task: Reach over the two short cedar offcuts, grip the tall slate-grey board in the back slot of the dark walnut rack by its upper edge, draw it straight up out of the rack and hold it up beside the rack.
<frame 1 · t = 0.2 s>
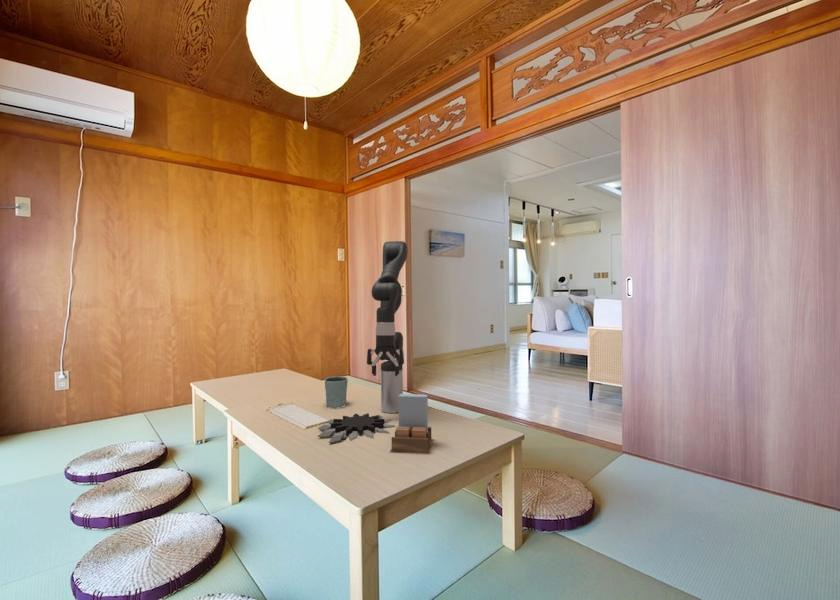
hand: (385, 375, 149), 18 cm above the table, tool pointing down, fingers open, 8 cm apart
teal cup: (336, 406, 171), on the table
rack: (412, 450, 121), on the table
baseboard molding: (295, 419, 155), on the table
tall board: (413, 441, 124), point 1 cm above the table, touching rack
offcut 1: (403, 447, 119), point 1 cm above the table, touching rack
decorative piece: (358, 432, 138), on the table
offcut 2: (419, 448, 118), point 1 cm above the table, touching rack
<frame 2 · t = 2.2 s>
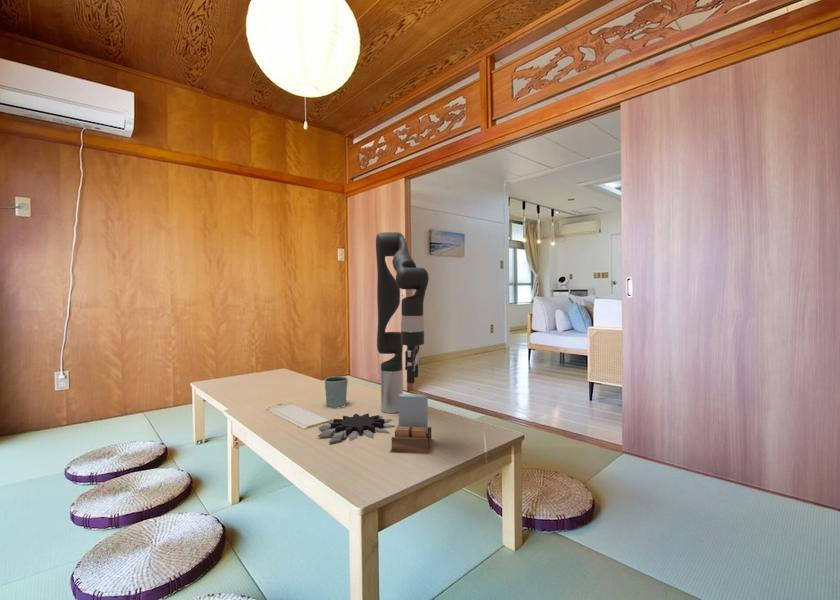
hand: (412, 380, 123), 21 cm above the table, tool pointing down, fingers open, 8 cm apart
nothing on the table moved.
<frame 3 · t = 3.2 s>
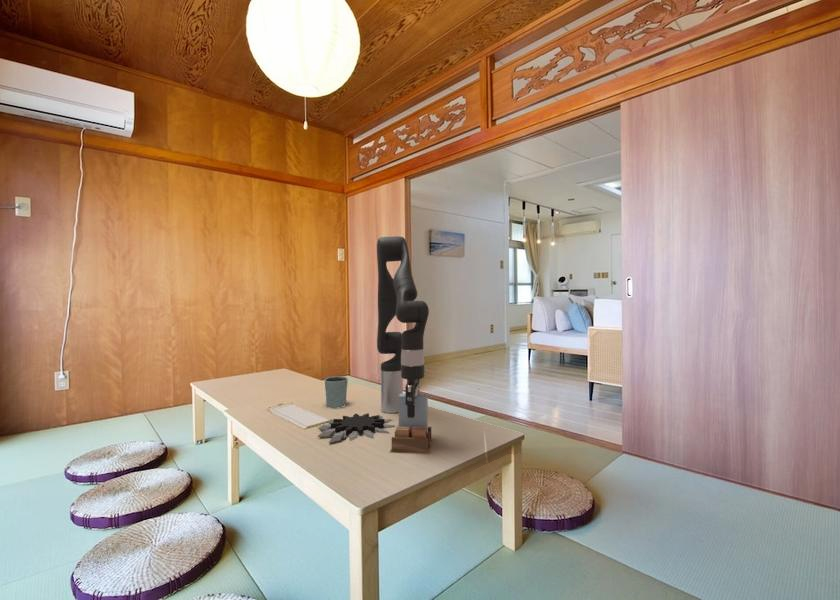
hand: (413, 413, 123), 11 cm above the table, tool pointing down, fingers open, 8 cm apart
nothing on the table moved.
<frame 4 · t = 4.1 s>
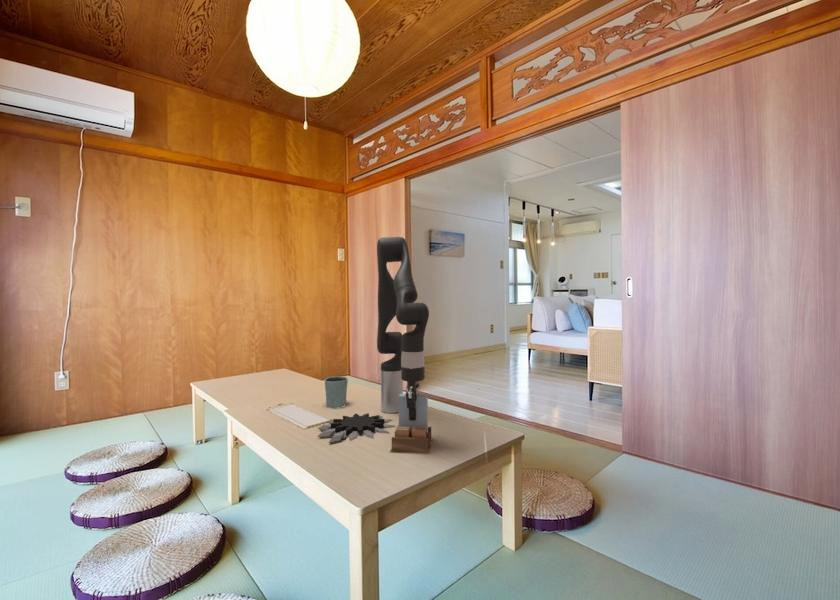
hand: (413, 418, 123), 9 cm above the table, tool pointing down, fingers closed on tall board, 3 cm apart
tall board: (413, 441, 124), point 1 cm above the table, touching gripper, rack
everything else where it was.
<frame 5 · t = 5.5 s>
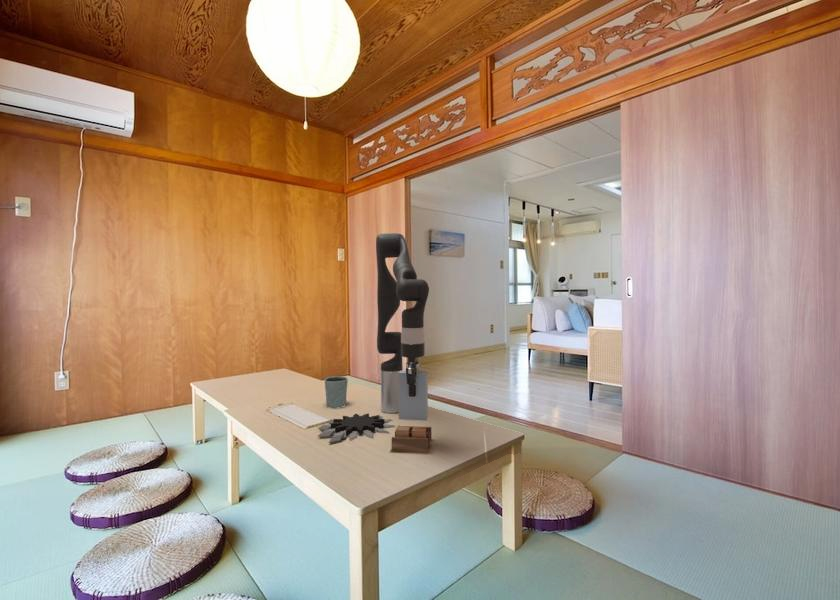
hand: (413, 394, 123), 17 cm above the table, tool pointing down, fingers closed on tall board, 3 cm apart
tall board: (413, 418, 124), point 9 cm above the table, touching gripper
everything else where it was.
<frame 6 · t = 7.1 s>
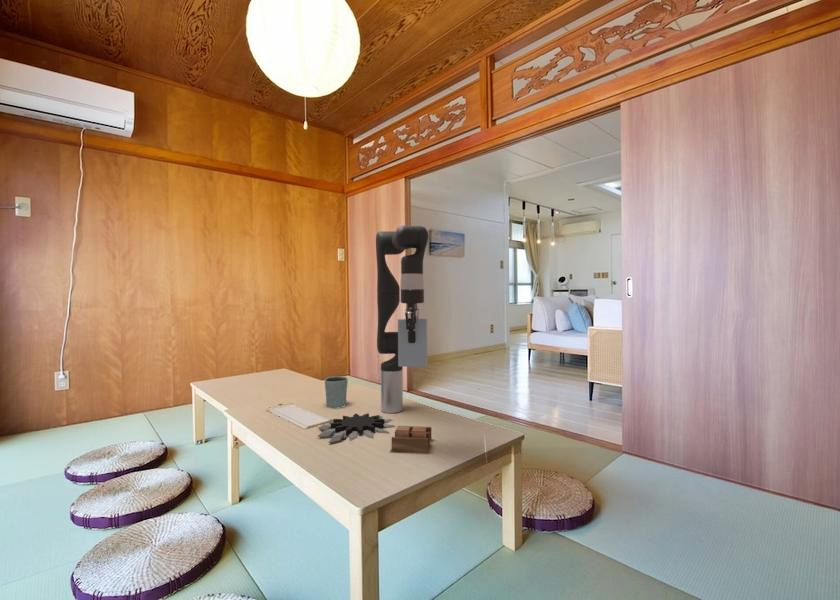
hand: (412, 342, 123), 34 cm above the table, tool pointing down, fingers closed on tall board, 3 cm apart
tall board: (412, 365, 123), point 26 cm above the table, touching gripper
everything else where it was.
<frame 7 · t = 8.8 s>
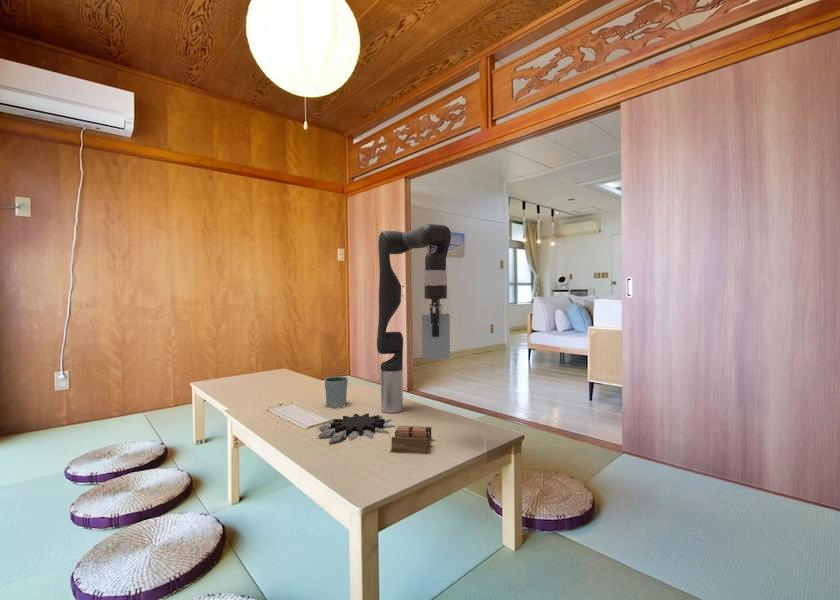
hand: (436, 335, 128), 35 cm above the table, tool pointing down, fingers closed on tall board, 3 cm apart
tall board: (436, 358, 128), point 27 cm above the table, touching gripper
everything else where it was.
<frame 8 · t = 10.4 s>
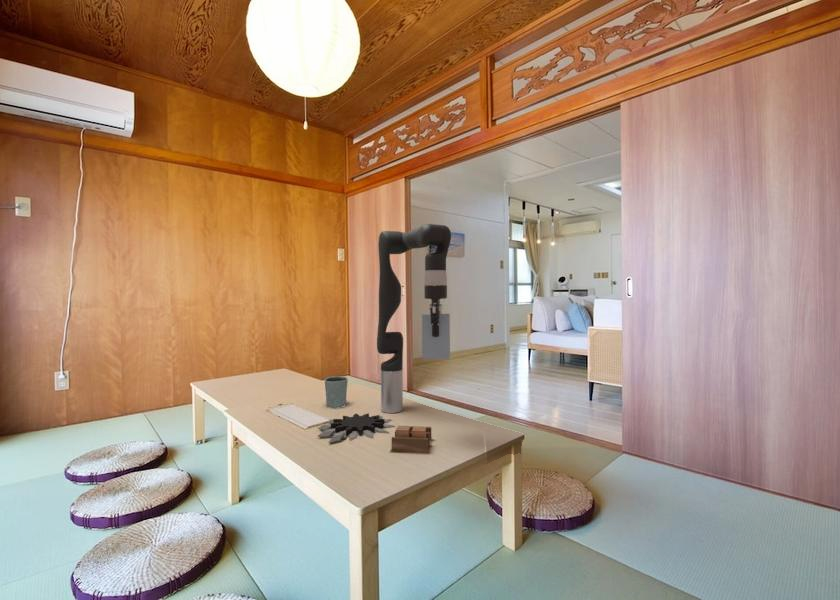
hand: (436, 335, 128), 35 cm above the table, tool pointing down, fingers closed on tall board, 3 cm apart
tall board: (436, 358, 128), point 27 cm above the table, touching gripper
everything else where it was.
at the end: the gripper is holding tall board; tall board point 27.4 cm above the table; offcut 2 moved 0.0 cm from its start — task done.
